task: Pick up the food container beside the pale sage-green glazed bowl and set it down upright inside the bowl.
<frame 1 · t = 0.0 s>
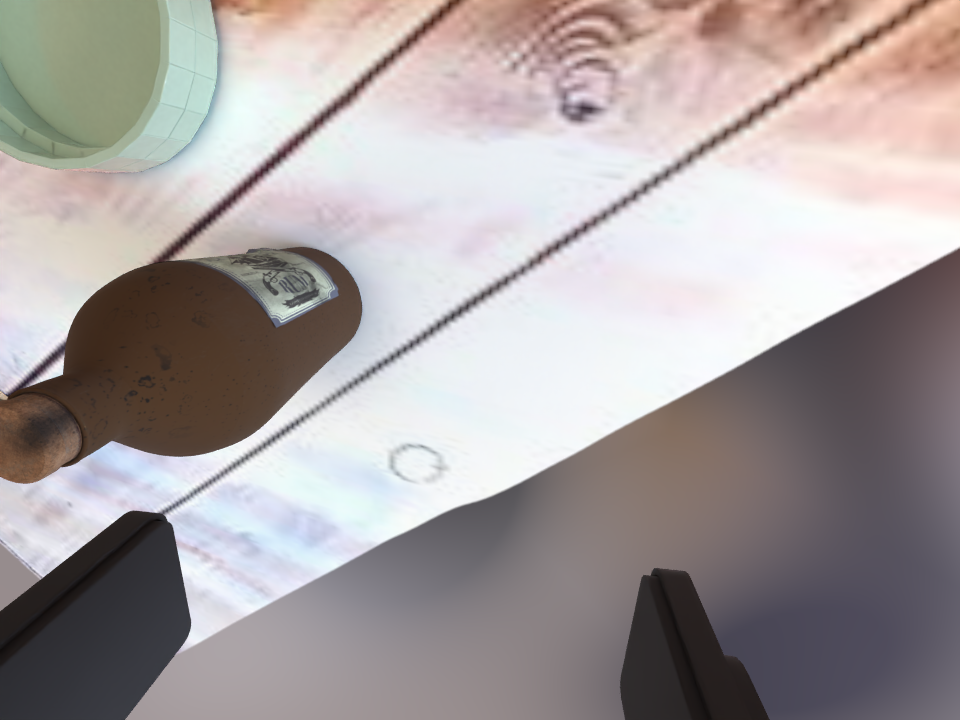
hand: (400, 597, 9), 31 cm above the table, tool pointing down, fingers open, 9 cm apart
olive oil: (311, 301, 41), on the table
bowl: (97, 33, 35), on the table
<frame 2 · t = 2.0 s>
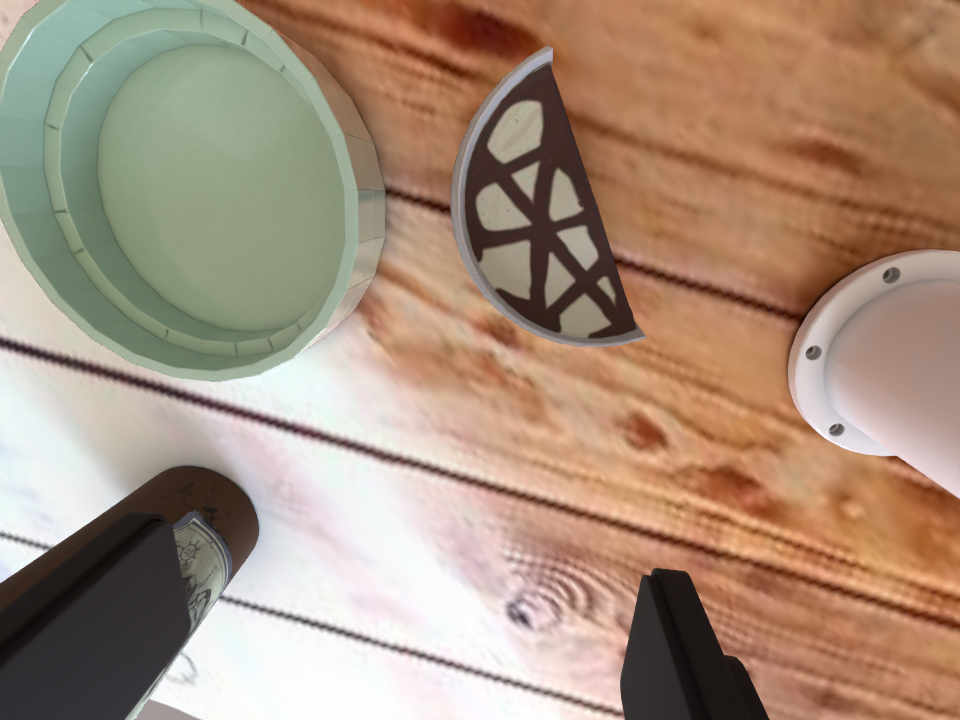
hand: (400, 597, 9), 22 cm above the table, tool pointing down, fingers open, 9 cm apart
food container: (526, 223, 28), on the table
olive oil: (205, 515, 37), on the table
bowl: (233, 201, 29), on the table
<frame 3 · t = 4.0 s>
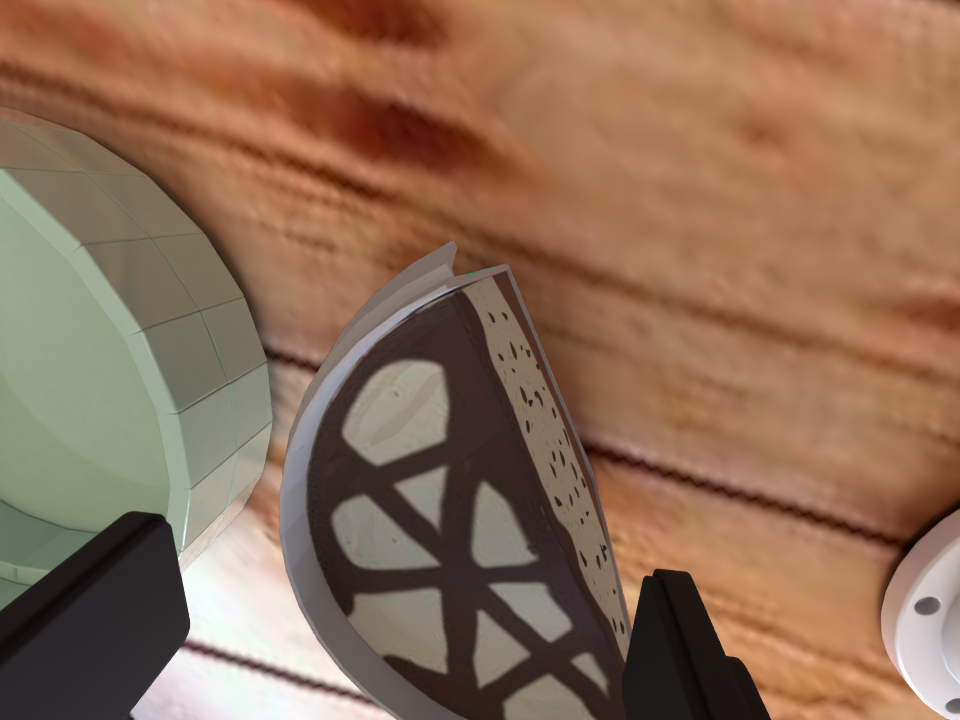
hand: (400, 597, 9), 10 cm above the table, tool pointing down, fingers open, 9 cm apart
food container: (481, 401, 19), on the table, touching gripper
bowl: (61, 364, 20), on the table
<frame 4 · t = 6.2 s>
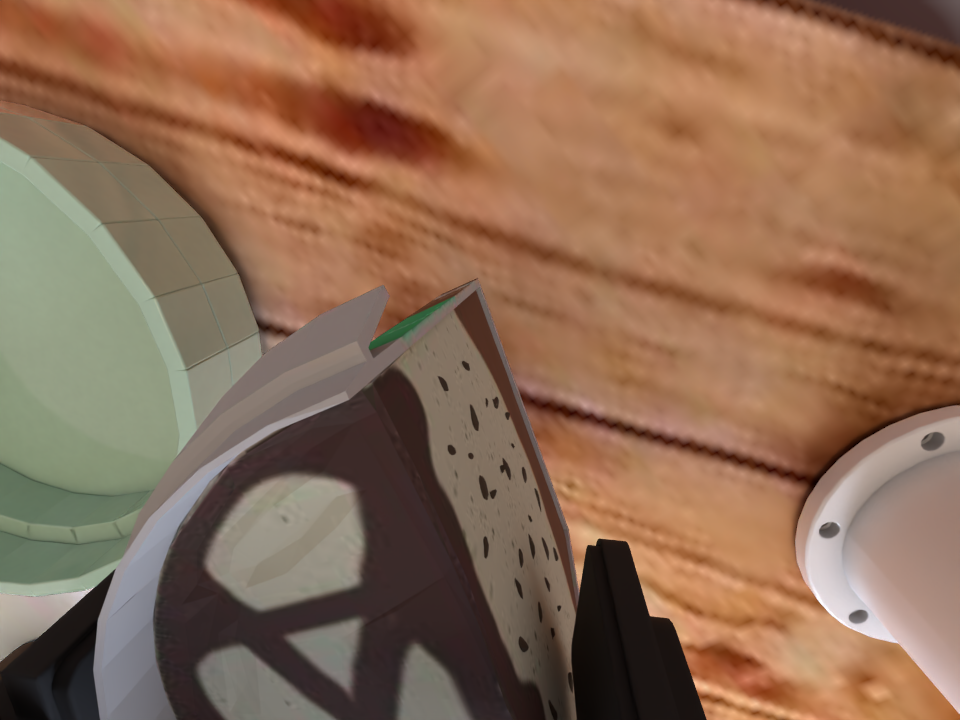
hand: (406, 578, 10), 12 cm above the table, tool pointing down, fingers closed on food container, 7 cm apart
food container: (440, 437, 16), point 6 cm above the table, touching gripper
bowl: (66, 339, 22), on the table
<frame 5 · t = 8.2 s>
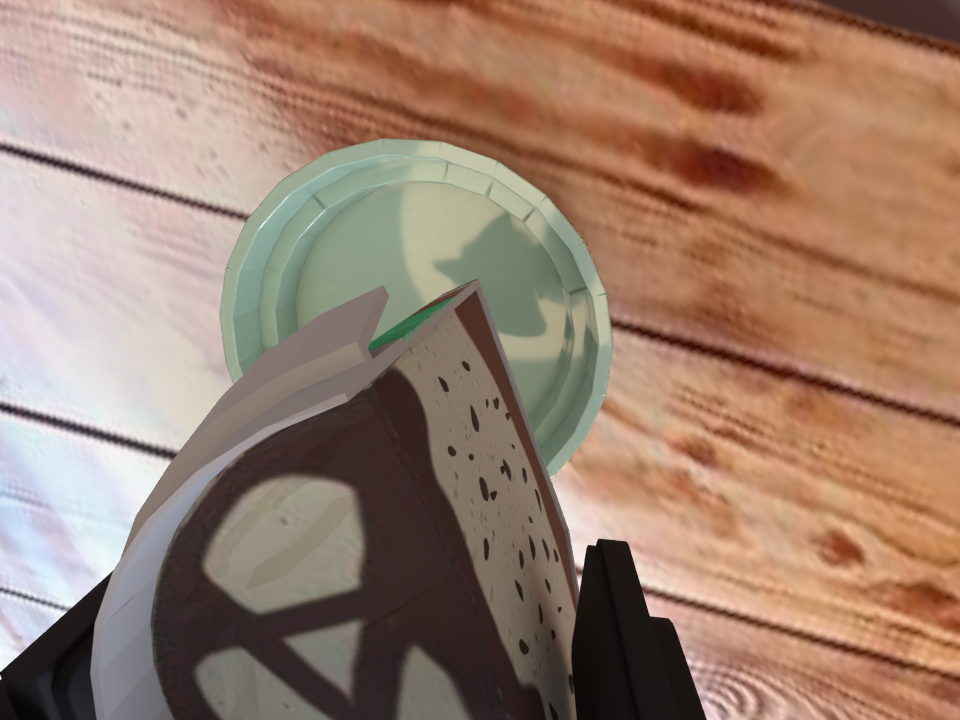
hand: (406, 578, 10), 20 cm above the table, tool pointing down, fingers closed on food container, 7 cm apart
food container: (440, 438, 16), point 13 cm above the table, touching gripper
bowl: (431, 326, 28), on the table
when the fingers open (7 cm above the table, at t = 11.7 s): food container stays where it is, resting on bowl.
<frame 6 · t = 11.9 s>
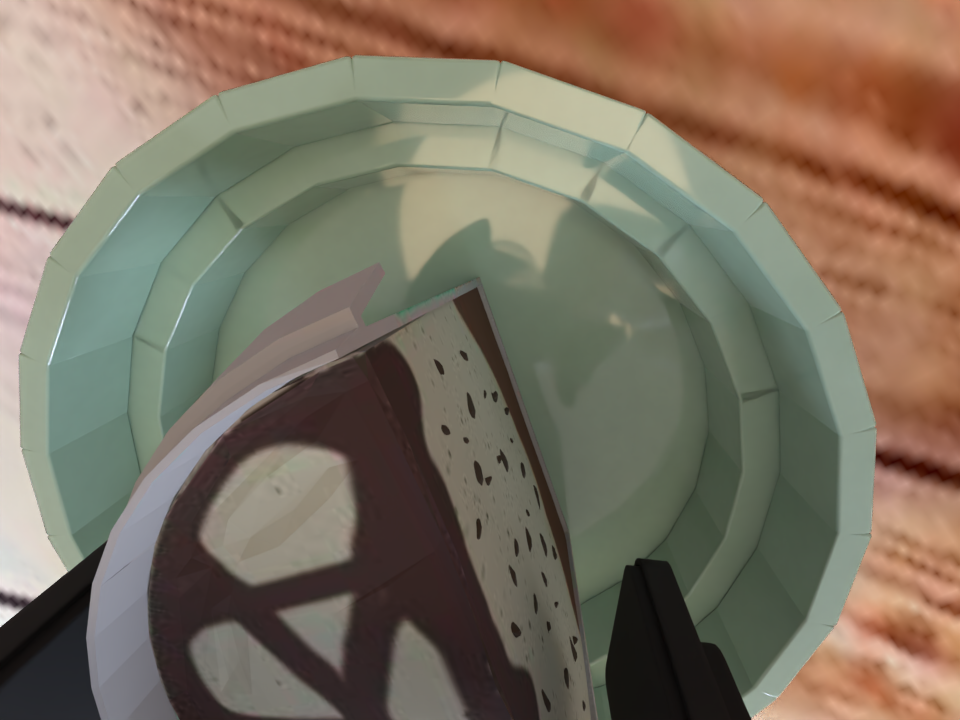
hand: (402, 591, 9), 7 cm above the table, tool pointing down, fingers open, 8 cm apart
food container: (441, 436, 16), resting on bowl
bowl: (452, 427, 16), on the table
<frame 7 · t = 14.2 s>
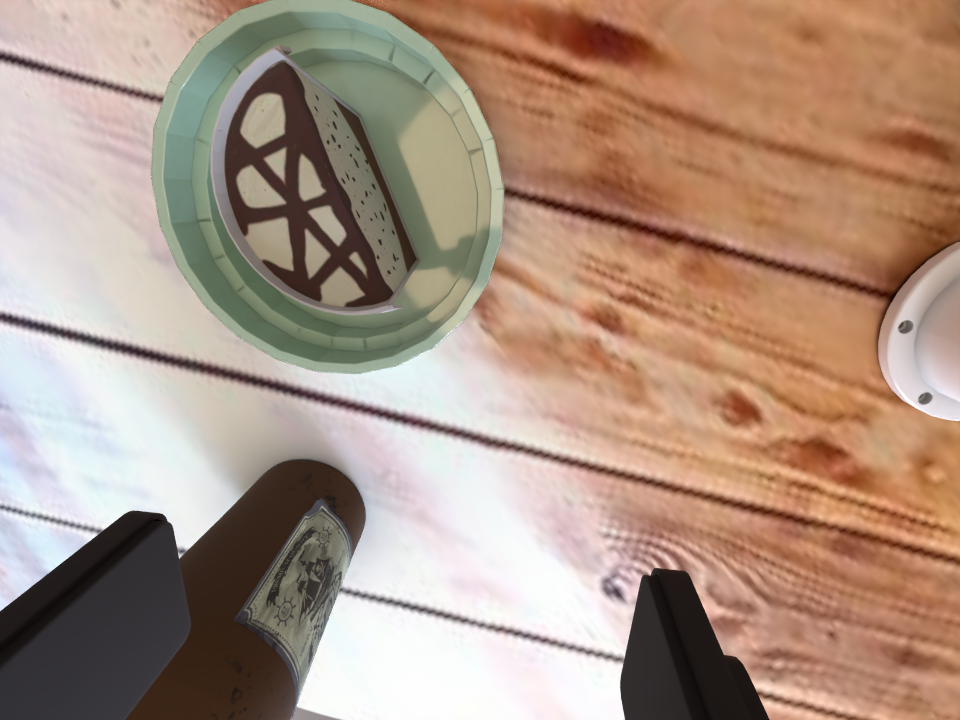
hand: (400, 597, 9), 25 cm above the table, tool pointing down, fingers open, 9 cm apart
food container: (350, 208, 31), resting on bowl
olive oil: (312, 507, 39), on the table
bowl: (356, 205, 31), on the table
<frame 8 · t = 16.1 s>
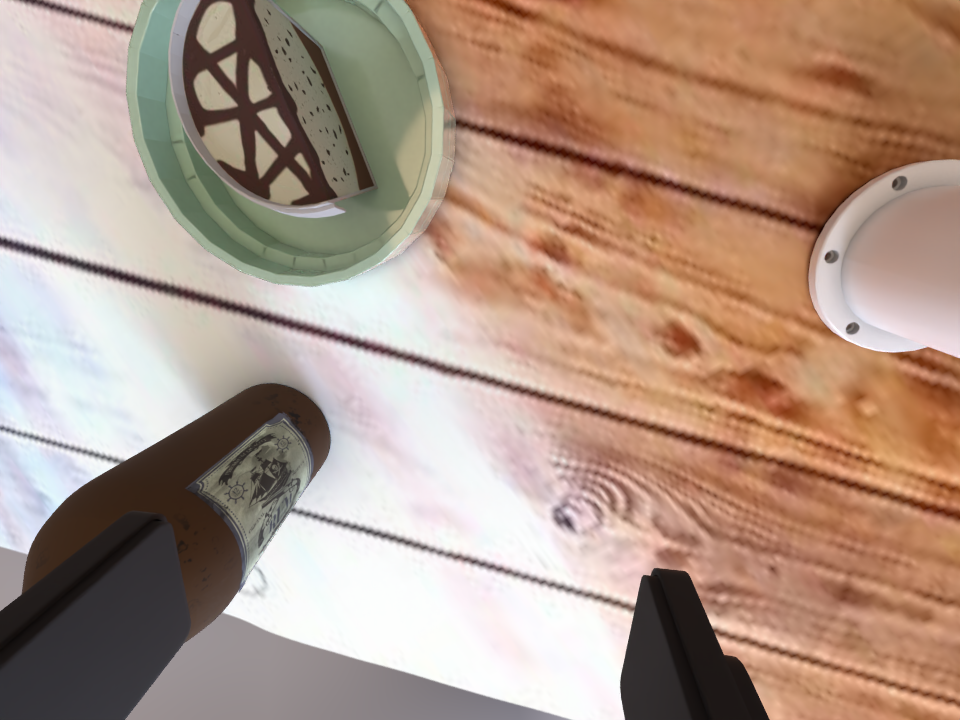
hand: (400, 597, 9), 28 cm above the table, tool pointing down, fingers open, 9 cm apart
food container: (313, 137, 33), resting on bowl
olive oil: (281, 431, 42), on the table
bowl: (320, 135, 33), on the table
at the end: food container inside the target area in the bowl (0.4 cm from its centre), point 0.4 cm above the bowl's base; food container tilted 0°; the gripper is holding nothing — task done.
